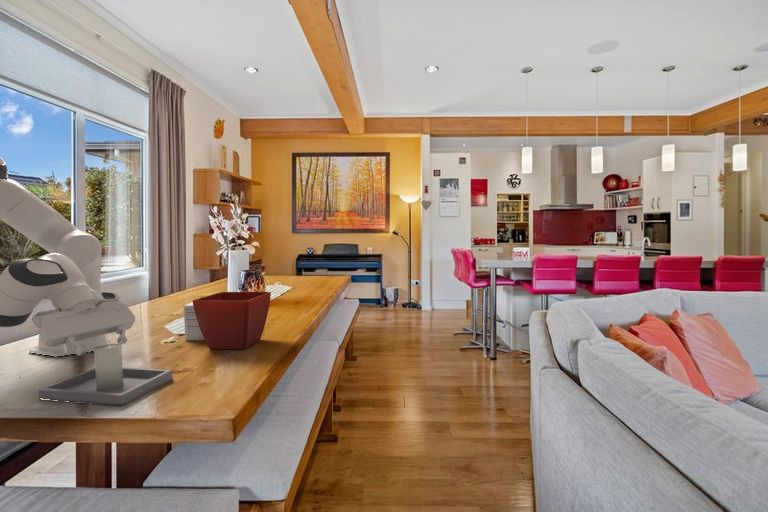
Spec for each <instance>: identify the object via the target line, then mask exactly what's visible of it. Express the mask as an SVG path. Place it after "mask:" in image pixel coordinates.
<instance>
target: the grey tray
mask: <svg viewBox="0 0 768 512" xmlns="http://www.w3.org/2000/svg"><path fill="white" fill-rule="evenodd" d="M171 381H173V369H158V368H146V367H145V368H142V367H141V368H140V367H126V366H125V367H123V382H124V385H123V386H122V387H120V388H117V389H114V390H110V391H97V390H96V374H95V367H94V368H90V369H88V370H86V371H83V372H80V373H78V374H76V375H73V376H70V377H67V378H65V379H63V380H59V381H58V382H54V383H52V384H50V385H47V386H44V387H42V388H39V389H38V391H37V392H38V399H39V398H43V399H50V400H58V401H69V402H83V403H84V402H85V403H92V404H91V405H95V404H101V405H100V406H110V407H123V406H126V405H127V404H129V403H131V402H133V401H135V400H136V399H138V398H141V397H143V396H144V395H146V394H148V393H150V392H152V391H153V390H155V389H157V388H159V387H162V386H163V385H165V384H167V383H168V382H171ZM69 402H68V403H69Z"/></svg>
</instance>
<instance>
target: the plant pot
mask: <svg viewBox="0 0 768 512" xmlns="http://www.w3.org/2000/svg"><path fill="white" fill-rule="evenodd" d="M271 296H272V292H271V291H220V292H217V293H214V294H210V295H206V296H202V297H200V298H196V299H193V300H192V302H193V306H194V311H195V314H196V318H197V321H198V324H199V327H200V330H201V332H202V335H203V337H204V339H205V340H204V341H205V343H206V346H207V347H208V349H211V350H245V349H247V348H249V347H250V346H252V345H254V344H255V343H257V342H259V341H260V340H261V339H262V335H263V332H264V330H265V325H266V322H267V318H268V314H269V309H270V303H271Z"/></svg>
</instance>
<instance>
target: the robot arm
mask: <svg viewBox="0 0 768 512" xmlns="http://www.w3.org/2000/svg"><path fill="white" fill-rule="evenodd" d="M0 221H2V222H3V223H4V224H7V225H8V226H9V227H10V228H12V229H14V230H16V231H17V232H18V233H20V234H21V235H23V236H24V237H26V238H27V239H29V240H30V241H32V242H34V243H35V244H36V245H38V246H39V248H42V249H44V250H45V251H46V252H48V253H46V254H44V255H40V256H39V257H38V258H21V259H16V260H13V261H12V262H10V263H9V264H8V266H7V267H6V268H5V269H4V270H3V271H2V272H1V273H0V328H12V327H16V326H20V325H22V324H25V322H26V321H27V320H28V319H29V318H30V316H31V314H32V313H33V311H34V310H35V308H36V307H38V305H39V304H40V303H41V302H42V300H50V301H51V304H52V306H53V308H54V309H50V310H45V311H44V310H43V311H39V312H37V313H36V314H34V315H33V316H32V318H31V321H32V323H33V324H34V326H35V328H37V329H38V334H39V335H38V339H37V340H38V346H35V347H33V348H30V349H28V353H29V352H34V353H39V354H45V355H51V356H63V355H68V356H71V355H70V354H75V355H77V356H78V357H80V356H83V355H86V354H88V353H92V352H91V351H93V352H94V348H96V347H98V346H102V345H107V344H111V343H110V338H109V336H108V335H109V334H114V333H116V335H119V336H118V337H117V338H116V343H117V344H121V345H125V344H127V342H128V338H127V337H126V330H130V329H131V328H132V327H133V325H134V324H135V322H136V317H135V315H134V313H133V311H132V309H130V307H129V306H128V305H127V303H125V302H123V301H122V300H120V295H119V294H118V293H117V292H112V291H111V292H110V291H101V290H102V287H101V277H102V276H101V275H102V244H101V242H100V240H99V239H98V238H97V237H96V236H95V235H93V234H91V233H89V232H85V231H82V230H80V229H79V228H78V227H77V226H76V225H74V224H73V223H72V222H70V221H69V220H68V219H67V218H65V217H64V216H63V215H62V214H61V213H59V212H58V211H57V210H56V209H55V208H54V207H52V206H51V205H50V204H48V203H47V202H45V201H44V200H42V199H41V198H40V197H38V196H36V195H35V194H34V193H32V192H31V191H30V190H28V189H27V188H25V187H24V186H22V185H21V184H19V183H18V182H16V181H14V180H13V179H11V178H9V174H8V167H7V164H6V162H5V160H4V159H3V158H2V157H1V156H0ZM87 352H88V353H87ZM63 357H64V356H63Z"/></svg>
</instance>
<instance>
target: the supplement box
mask: <svg viewBox="0 0 768 512" xmlns="http://www.w3.org/2000/svg"><path fill="white" fill-rule="evenodd" d="M183 319H184V320H183V322H184V335H185V336H184V337H185V338H184V339H185V341H205V339H204V337H203V335H202V332H201V330H200V327H199V324H198V321H197V318H196V314H195V311H194V306H193V301H191V302H190V303H188V304H185V305H183Z"/></svg>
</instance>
